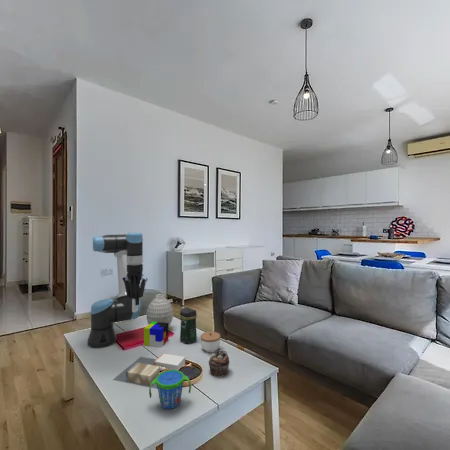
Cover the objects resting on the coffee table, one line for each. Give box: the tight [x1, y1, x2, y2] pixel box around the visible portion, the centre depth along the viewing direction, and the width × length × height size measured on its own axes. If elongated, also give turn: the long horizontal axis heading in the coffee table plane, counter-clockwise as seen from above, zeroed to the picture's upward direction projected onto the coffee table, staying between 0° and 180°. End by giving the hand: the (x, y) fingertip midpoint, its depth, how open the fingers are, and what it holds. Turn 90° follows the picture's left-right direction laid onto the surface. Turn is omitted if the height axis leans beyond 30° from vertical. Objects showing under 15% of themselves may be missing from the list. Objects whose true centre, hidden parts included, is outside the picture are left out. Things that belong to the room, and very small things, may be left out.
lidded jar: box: [199, 331, 221, 354], centre depth 149 cm, size 11×11×9 cm
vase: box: [146, 293, 174, 328], centre depth 174 cm, size 16×16×22 cm
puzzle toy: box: [143, 322, 169, 348], centre depth 157 cm, size 10×10×10 cm
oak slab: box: [126, 363, 160, 386], centre depth 122 cm, size 4×8×12 cm
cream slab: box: [154, 353, 186, 370], centre depth 130 cm, size 4×8×12 cm
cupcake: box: [208, 348, 230, 378], centre depth 127 cm, size 10×10×10 cm
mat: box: [112, 356, 158, 390], centre depth 127 cm, size 26×21×1 cm
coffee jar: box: [179, 306, 198, 344], centre depth 160 cm, size 10×8×19 cm
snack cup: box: [148, 370, 192, 410], centre depth 106 cm, size 16×10×10 cm
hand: (135, 311), depth 137 cm, fingers closed
